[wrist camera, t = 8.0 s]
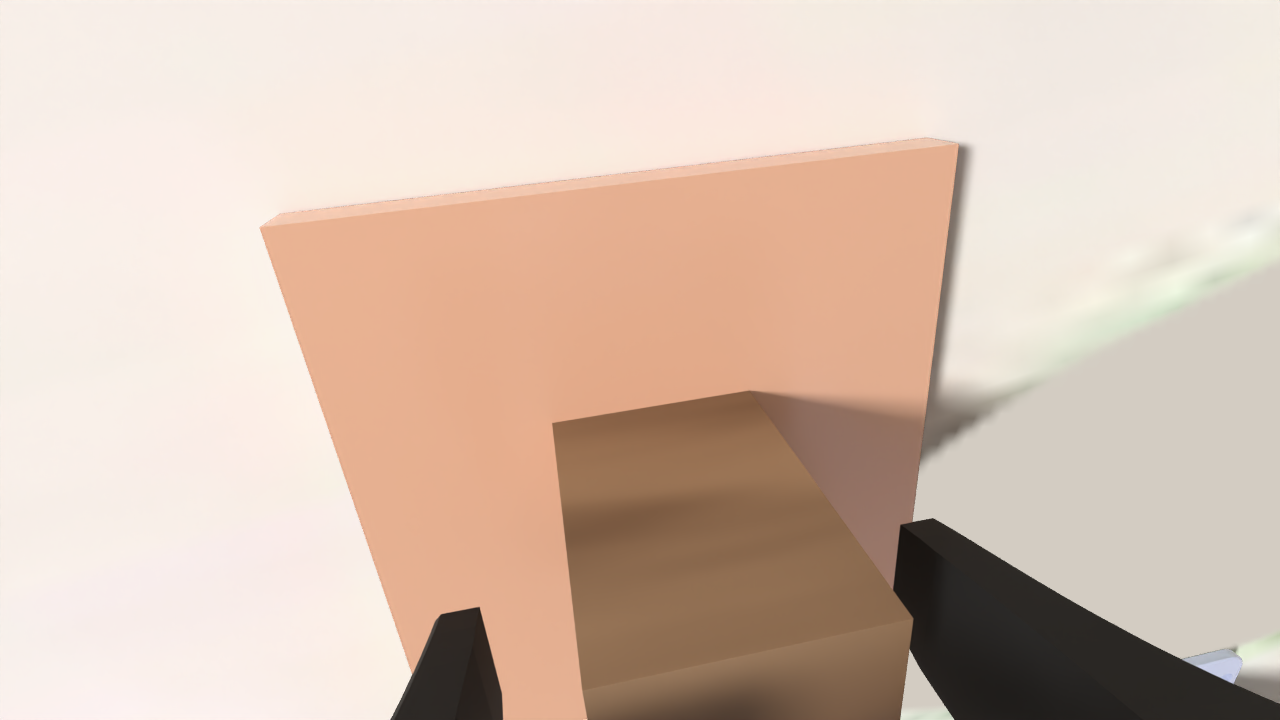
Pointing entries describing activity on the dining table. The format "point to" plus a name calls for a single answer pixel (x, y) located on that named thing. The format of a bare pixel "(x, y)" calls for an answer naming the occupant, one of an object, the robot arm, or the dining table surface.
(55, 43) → the dining table surface
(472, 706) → the robot arm
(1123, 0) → the dining table surface
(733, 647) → the walnut block
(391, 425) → the terracotta tile
